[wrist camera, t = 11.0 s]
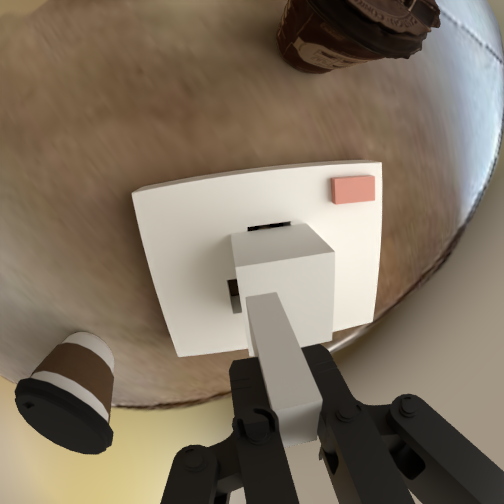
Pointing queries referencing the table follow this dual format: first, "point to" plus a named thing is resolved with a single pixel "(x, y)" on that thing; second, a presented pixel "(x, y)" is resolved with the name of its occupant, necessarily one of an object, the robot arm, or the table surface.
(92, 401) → the coffee cup
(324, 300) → the plug
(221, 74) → the table surface
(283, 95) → the table surface
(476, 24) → the table surface
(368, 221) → the socket plate
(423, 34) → the coffee cup
